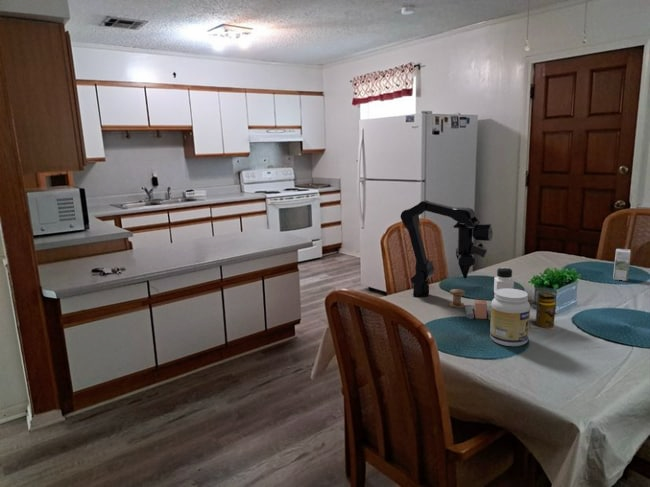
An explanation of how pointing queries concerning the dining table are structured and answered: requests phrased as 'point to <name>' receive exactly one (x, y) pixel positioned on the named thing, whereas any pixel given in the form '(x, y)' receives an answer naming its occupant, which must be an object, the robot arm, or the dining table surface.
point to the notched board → (470, 311)
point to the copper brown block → (480, 309)
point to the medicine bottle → (503, 279)
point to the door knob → (457, 298)
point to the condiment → (544, 312)
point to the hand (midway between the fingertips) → (464, 275)
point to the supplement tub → (510, 317)
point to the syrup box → (621, 264)
